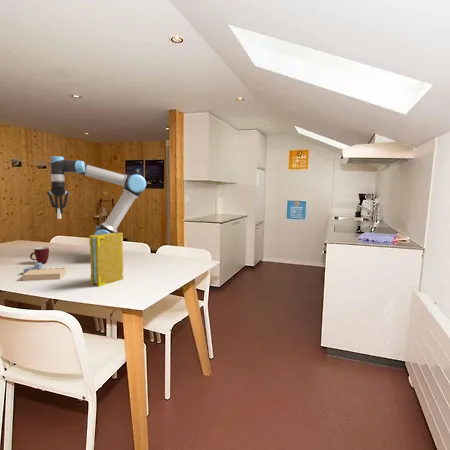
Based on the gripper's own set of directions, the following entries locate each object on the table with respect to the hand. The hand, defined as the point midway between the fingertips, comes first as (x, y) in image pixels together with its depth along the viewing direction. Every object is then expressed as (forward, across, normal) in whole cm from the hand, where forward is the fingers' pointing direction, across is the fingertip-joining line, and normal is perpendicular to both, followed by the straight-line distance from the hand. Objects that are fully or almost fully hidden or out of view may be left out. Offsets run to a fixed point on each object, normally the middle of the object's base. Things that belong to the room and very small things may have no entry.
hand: (59, 218), depth 196 cm
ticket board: (+29, 0, +32) cm, 43 cm away
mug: (+30, +13, -2) cm, 32 cm away
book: (+30, -35, +47) cm, 66 cm away
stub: (+29, +9, +23) cm, 38 cm away
